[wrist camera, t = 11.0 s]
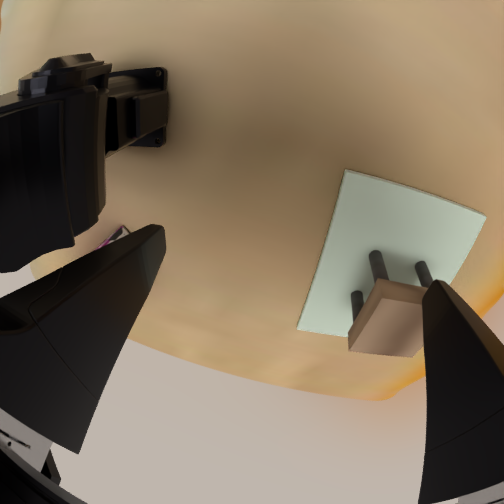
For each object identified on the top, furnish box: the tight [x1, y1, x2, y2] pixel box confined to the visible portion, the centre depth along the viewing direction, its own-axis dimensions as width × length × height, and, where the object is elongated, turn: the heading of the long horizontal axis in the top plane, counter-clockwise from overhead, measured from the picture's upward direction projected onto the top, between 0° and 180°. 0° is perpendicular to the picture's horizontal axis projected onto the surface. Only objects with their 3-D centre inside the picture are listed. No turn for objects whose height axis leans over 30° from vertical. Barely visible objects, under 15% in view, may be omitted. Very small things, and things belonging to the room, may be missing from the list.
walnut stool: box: [348, 250, 433, 357], centre depth 21 cm, size 6×6×6 cm
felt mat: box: [297, 169, 486, 337], centre depth 23 cm, size 14×18×1 cm
